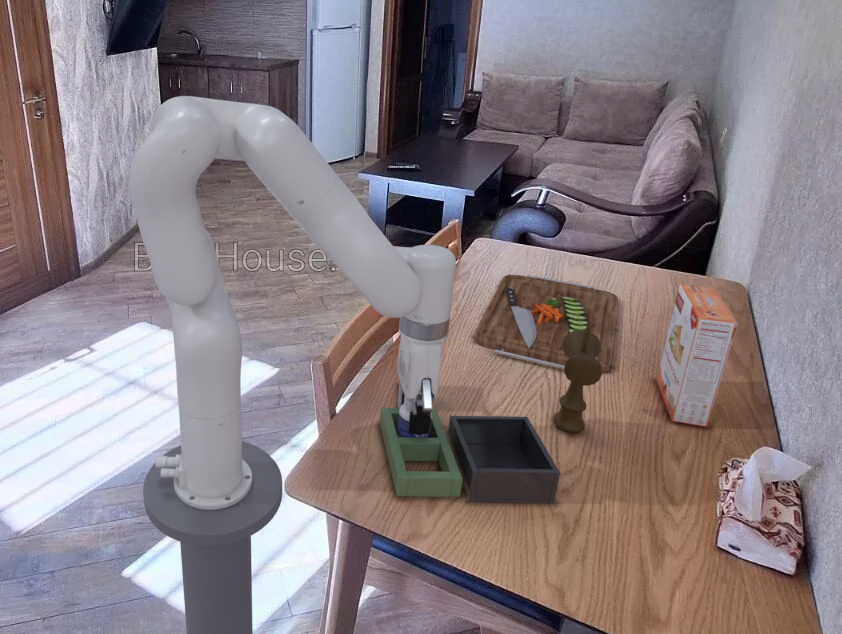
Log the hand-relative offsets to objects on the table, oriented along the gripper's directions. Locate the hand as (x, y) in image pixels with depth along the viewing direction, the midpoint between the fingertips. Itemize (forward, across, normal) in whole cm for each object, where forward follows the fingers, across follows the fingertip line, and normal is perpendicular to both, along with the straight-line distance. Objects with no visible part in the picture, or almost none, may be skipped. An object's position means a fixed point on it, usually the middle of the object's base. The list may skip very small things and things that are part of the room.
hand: (414, 419), depth 107 cm
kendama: (+5, -5, +28) cm, 29 cm away
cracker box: (+5, -12, +51) cm, 53 cm away
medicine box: (+5, -13, +2) cm, 14 cm away
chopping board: (+5, -45, +40) cm, 60 cm away
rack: (+5, +4, 0) cm, 6 cm away
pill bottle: (+5, 0, 0) cm, 5 cm away
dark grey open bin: (+5, +7, +12) cm, 15 cm away
